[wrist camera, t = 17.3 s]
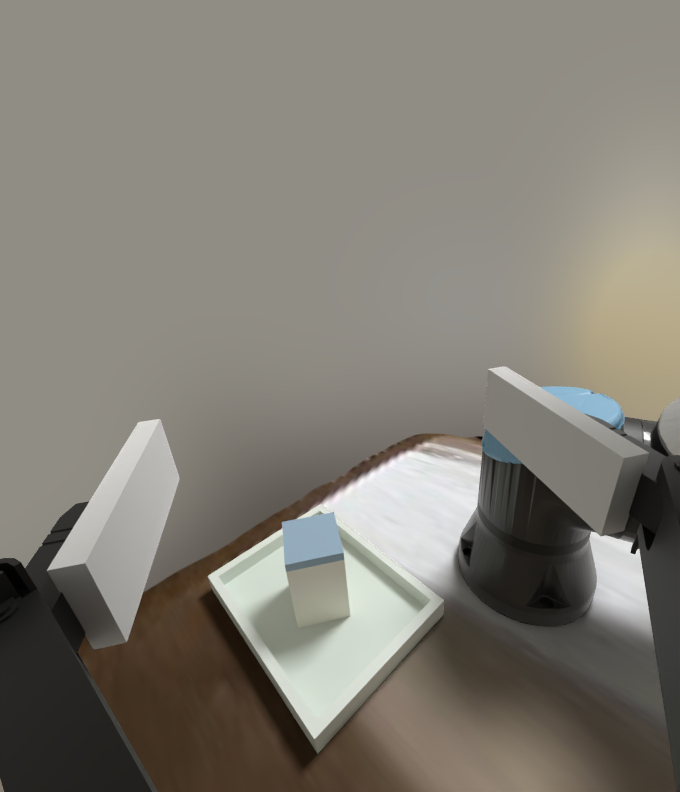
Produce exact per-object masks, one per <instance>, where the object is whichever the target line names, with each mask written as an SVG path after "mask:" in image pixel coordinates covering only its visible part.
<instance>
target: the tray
mask: <svg viewBox="0 0 680 792" xmlns="http://www.w3.org/2000/svg"><path fill="white" fill-rule="evenodd" d="M327 513H332V512H331V511H330V510H328V509H327V508H326V507H324V506H323V505H322V504H320V505H318V506H317V507H315V508H314V509H312V510H311V511H309V512H307V513H306V514H304V515H303V516H301V517H300V518H298V519H301V518H306V517H311V516H316V515H321V514H327ZM334 515H335V514H334ZM335 519H336V523H337V527H338V531H339V535H340V540H341V544H342V548H343V552H344V560H345V570H346V579H347V588H348V598H349V607H350V616H349V617H345V618H340V619H336V620H332V621H327V622H323V623H319V624H314V625H310V626H306V627H302V628H298V627H297V622H296V617H295V612H294V608H293V603H292V598H291V593H290V588H289V583H288V578H287V574H286V569H285V561H284V545H283V529H281V530H279V531H278V532H276V533H275V534H273V535H271V536H270V537H268V538H267V539H265V540H264V541H262V542H260V543H259V544H257V545H256V546H254V547H253V548H251V549H249V550H248V551H246V552H245V553H243V554H242V555H240V556H238V557H237V558H235V559H234V560H232V561H231V562H229V563H227V564H226V565H224V566H223V567H221V568H220V569H218V570H217V571H215V572H213V573H212V574H210V575H209V576H208V579H209V582H210V585H211V588H212V590H213V592H214V594H215V595H216V597H217V598H218V600H219V601H220V603H221V604H222V606H223V608H224V609H225V611H226V612H227V614H228V615H229V617H230V618H231V620H232V622H233V623H234V625H235V626H236V628H237V629H238V631H239V632H240V634H241V636H242V637H243V639H244V640H245V642H246V643H247V645H248V646H249V648H250V650H251V651H252V653H253V654H254V656H255V657H256V659H257V660H258V662H259V664H260V665H261V667H262V668H263V670H264V671H265V673H266V674H267V676H268V678H269V679H270V681H271V682H272V684H273V685H274V687H275V688H276V690H277V692H278V693H279V695H280V696H281V698H282V699H283V701H284V703H285V704H286V706H287V707H288V709H289V710H290V712H291V713H292V715H293V717H294V718H295V720H296V721H297V723H298V724H299V726H300V727H301V729H302V731H303V732H304V734H305V735H306V737H307V738H308V740H309V741H310V743H311V745H312V746H313V748H314V749H315V751H316V752H317V754H318V753H319V752H320V751H321V750H322V749H323V748H324V747H325V745H326V744H327V743H328V742H329V741H330V740H331V739H332V738H333V737H334V736H335V734H336V733H337V732H338V731H339V730H340V729H341V728H342V727H343V726H344V724H345V723H346V722H347V721H348V720H349V719H350V718H351V717H352V716H353V714H354V713H355V712H356V711H357V710H358V709H359V708H360V707H361V706H362V705H363V703H364V702H365V701H366V700H367V699H368V698H369V697H370V696H371V695H372V693H373V692H374V691H375V690H376V689H377V688H378V687H379V686H380V685H381V684H382V682H383V681H384V680H385V679H386V678H387V677H388V676H389V675H390V674H391V672H392V671H393V670H394V669H395V668H396V667H397V666H398V665H399V664H400V662H401V661H402V660H403V659H404V658H405V657H406V656H407V655H408V654H409V653H410V651H411V650H412V649H413V648H414V647H415V646H416V645H417V644H418V643H419V641H420V640H421V639H422V638H423V637H424V636H425V635H426V634H427V633H428V632H429V630H430V629H431V628H432V627H433V626H434V625H435V624H436V623H437V622H438V620H439V619H440V618H441V617H442V616H443V613H444V600H443V599H442V598H441V597H439V596H438V595H437V594H436V593H434V592H433V591H432V590H430V589H429V588H428V587H427V586H425V585H424V584H423V583H421V582H420V581H419V580H418V579H416V578H415V577H414V576H413V575H411V574H410V573H409V572H407V571H406V570H405V569H404V568H402V567H401V566H400V565H398V564H397V563H396V562H395V561H393V560H392V559H391V558H390V557H388V556H387V555H386V554H384V553H383V552H382V551H381V550H379V549H378V548H377V547H376V546H374V545H373V544H372V543H370V542H369V541H368V540H367V539H365V538H364V537H363V536H361V535H360V534H359V533H358V532H356V531H355V530H354V529H353V528H351V527H350V526H349V525H347V524H346V523H345V522H344V521H342V520H341V519H340V518H338V517H337V516H336V515H335Z"/></svg>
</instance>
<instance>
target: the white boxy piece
mask: <svg viewBox="0 0 680 792" xmlns="http://www.w3.org/2000/svg"><path fill="white" fill-rule="evenodd" d="M282 529H283V545H284V561H285V569H286V574H287V578H288V583H289V588H290V593H291V598H292V603H293V608H294V612H295V617H296V622H297V627H298V628H302V627H306V626H310V625H314V624H319V623H323V622H327V621H332V620H336V619H340V618H345V617H349V616H350V607H349V598H348V588H347V579H346V570H345V560H344V552H343V548H342V544H341V540H340V535H339V531H338V527H337V523H336V519H335V515H334V512H332V513H327V514H321V515H316V516H311V517H306V518H301V519H296V520H291V521H285V522H282Z"/></svg>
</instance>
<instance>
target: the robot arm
mask: <svg viewBox="0 0 680 792" xmlns="http://www.w3.org/2000/svg"><path fill="white" fill-rule="evenodd" d="M483 427H484V428H485V434H484V436H483V438H482V449H483V453H482V464H481V475H480V485H479V495H478V506H477V508H476V510H475V511H474V513H473V515H472V516H471V518H470V520H469V521H468V523H467V525H466V526H465V528H464V530H463V532H462V534H461V537H460V541H459V552H458V561H459V566H460V570H461V573H462V575H463V577H464V579H465V581H466V582H467V584H468V585H469V587H470V588H471V589H472V591H473V592H474V593H475V594H476V595H477V596H478V597H479V598H480V599H481V600H482V601H484V602H485V603H486V604H487V605H489V606H490V607H491V608H493V609H494V610H496V611H498V612H499V613H501V614H503V615H505V616H507V617H509V618H512V619H514V620H517V621H520V622H523V623H527V624H532V625H538V626H558V625H563V624H567V623H570V622H573V621H575V620H577V619H578V618H580V617H581V616H582V615H583V614H584V613H585V612H586V611H587V610H588V608H589V607H590V605H591V602H592V599H593V596H594V593H595V589H596V582H597V576H596V569H595V564H594V560H593V555H592V550H591V545H590V540H589V537H590V533H591V531H592V532H596V533H598V534H599V535H600V536H604V535H607V536H611V537H614V538H617V539H621V540H624V541H628V542H632V543H633V545H632V548H631V553H632V554H635V553H636V551H637V549H640V555H641V561H642V568H643V574H644V581H645V587H646V594H647V600H648V606H649V613H650V619H651V626H652V632H653V639H654V645H655V651H656V658H657V664H658V671H659V677H660V684H661V690H662V696H663V703H664V709H665V716H666V722H667V729H668V735H669V741H670V748H671V754H672V761H673V767H674V774H675V780H676V786H677V792H680V398H678V399H676V400H674V401H673V402H671V403H670V404H669V405H668V406H667V407H666V408H665V409H664V410H663V412H662V414H661V416H660V418H659V420H658V422H655V421H647V420H641V419H635V418H628V417H624V414H623V412H622V409H621V407H620V406H619V404H618V403H617V402H616V401H615V400H613V399H612V398H610V397H608V396H606V395H603V394H594V393H593V391H591V390H587V389H582V388H574V387H559V386H558V387H539V386H537V385H535V384H533V383H532V382H530V381H528V380H527V379H525V378H524V377H522V376H520V375H519V374H517V373H515V372H513V371H512V370H510V369H508V368H507V367H498V368H493V369H488V376H487V387H486V397H485V407H484V418H483ZM178 482H179V475H178V472H177V469H176V466H175V463H174V460H173V457H172V454H171V451H170V448H169V445H168V442H167V438H166V435H165V433H164V429H163V427H162V423H161V420H160V419H157V420H150V421H143V422H138V424H137V426H136V428H135V429H134V431H133V432H132V434H131V435H130V437H129V438H128V440H127V442H126V444H125V445H124V447H123V448H122V450H121V452H120V453H119V455H118V456H117V458H116V459H115V461H114V463H113V464H112V466H111V467H110V469H109V471H108V472H107V474H106V476H105V477H104V479H103V481H102V482H101V484H100V485H99V487H98V489H97V490H96V492H95V494H94V495H93V497H92V498H91V500H90V501H89V502H84V503H78V504H75V505H74V506H73V507H72V508H71V509H69V511H67V512H66V513H65V514H64V515H62V517H60V518H59V520H58V521H57V523H56V524H55V526H54V527H53V529H52V530H51V534H49V535H48V536H47V538H46V539H45V540H44V542H43V543H42V544H43V545H42V546H41V547H40V548H39V549H38V551H37V552H36V553H35V555H34V556H33V558H32V559H31V561H30V562H29V564H28V565H27V567H26V568H24V567H23V565H22V563H21V562H19V561H18V560H16V559H15V558H3V559H0V779H1V782H2V786H3V789H4V792H158V791H157V789H156V787H155V786H154V784H153V782H152V780H151V779H150V777H149V775H148V773H147V772H146V770H145V768H144V766H143V765H142V763H141V761H140V760H139V758H138V756H137V754H136V753H135V751H134V749H133V747H132V746H131V744H130V742H129V740H128V739H127V737H126V735H125V734H124V732H123V730H122V728H121V727H120V725H119V723H118V721H117V720H116V718H115V716H114V714H113V713H112V711H111V709H110V707H109V706H108V704H107V702H106V701H105V699H104V697H103V695H102V694H101V692H100V690H99V688H98V687H97V685H96V683H95V681H94V680H93V678H92V676H91V674H90V673H89V671H88V669H87V668H86V666H85V664H84V662H83V661H82V659H81V657H80V656H79V654H78V653H77V652H78V650H79V647H80V645H81V643H82V640H83V638H84V636H86V638H87V639H88V641H89V643H90V644H91V646H92V648H93V649H99V648H103V647H108V646H112V645H117V644H121V643H126V642H127V640H128V637H129V634H130V631H131V628H132V625H133V622H134V618H135V615H136V612H137V609H138V606H139V603H140V600H141V597H142V594H143V591H144V587H145V584H146V581H147V578H148V575H149V572H150V569H151V566H152V563H153V560H154V557H155V553H156V550H157V547H158V544H159V541H160V538H161V535H162V531H163V529H164V526H165V522H166V519H167V516H168V513H169V510H170V507H171V504H172V501H173V498H174V495H175V491H176V488H177V485H178Z"/></svg>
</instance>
